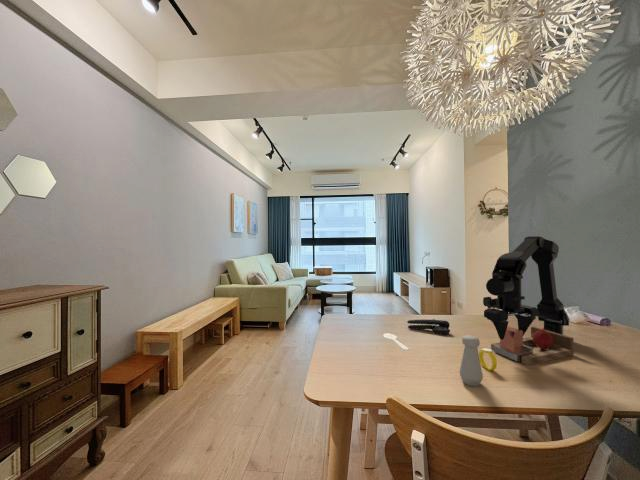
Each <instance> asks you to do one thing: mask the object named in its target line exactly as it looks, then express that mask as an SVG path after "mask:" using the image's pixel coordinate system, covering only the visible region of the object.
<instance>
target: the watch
mask: <svg viewBox="0 0 640 480" xmlns="http://www.w3.org/2000/svg"><path fill="white" fill-rule="evenodd" d="M478 354H479V359H480V364H481V368H482V367H483V368H484V369H486V370H488V371H490V372H491V371H494V370H496V369H497V366H498V364H497V363H498V362H497V358H496V356H495V354H494V350H492V349H491V348H488V347H483V348H482V349H481V350H480V351H478ZM484 354H488V355H489V357H490V359H491V364H492V366H491V367H490V366H488V365H487V364H486V362H485V359H484Z"/></svg>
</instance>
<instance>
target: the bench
mask: <svg viewBox="0 0 640 480" xmlns="http://www.w3.org/2000/svg"><path fill="white" fill-rule="evenodd" d="M541 328H542V327H541ZM541 328H540V327H538V326H530V337H523V345H526V346H529V347H530V346H534V345H535V346H536V344H535V343H534V342H533V334H534V333H535V332H537V331H539V330H541ZM545 331H547V332H548V333H549V334H550V335H551V336H552V338H553V345H552V346H551V347H550V348H548V350H544V351H541V352H535V353H533V354H529V355H524V356H521V359H522V361H521V363H522V362H523V363H522V364H525V365H527V366H529V365H533V364H538V363H544V362H548V361H552V360H556V359H558V360H559V359H561V358H562V359H563V358H567V357H572V356H574V353H575V352H574V351H575V350H574V337H572V336H568V335H565V334H563V335H562V334H558V333H555V332H551V331H548V330H545ZM496 345H500V341H499V342H495V343H491V344H490V349H491V350H492V351H494V346H496ZM549 349H550V350H549Z"/></svg>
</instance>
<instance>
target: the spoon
mask: <svg viewBox="0 0 640 480" xmlns="http://www.w3.org/2000/svg"><path fill="white" fill-rule="evenodd" d="M383 337H384V338H385V339H387V340H391V341H393V342H394V343H395V344H396V345H397V346H399V347H400V348H401V349H402V350H405V351H408V350H410V348H409V347H407V346H406V345H405V344H403V343H401V342H400V341H399V340H398V336H397V335H396V334H393V333H390V332H385V333H383Z"/></svg>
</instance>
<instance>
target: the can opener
mask: <svg viewBox="0 0 640 480" xmlns="http://www.w3.org/2000/svg"><path fill="white" fill-rule="evenodd" d="M406 323H407V324H410V325H407V328H408V329H410V328H411V329H410V330H412V329H413V330H432V331H431V332H432V333H433V334H435V335H439V336H445V335H448V334H449V333H450V332H451V330H450V329H449V328H450V322H449V321H447V320H441V319H435V318H432V319H409V320H408V321H406Z"/></svg>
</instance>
